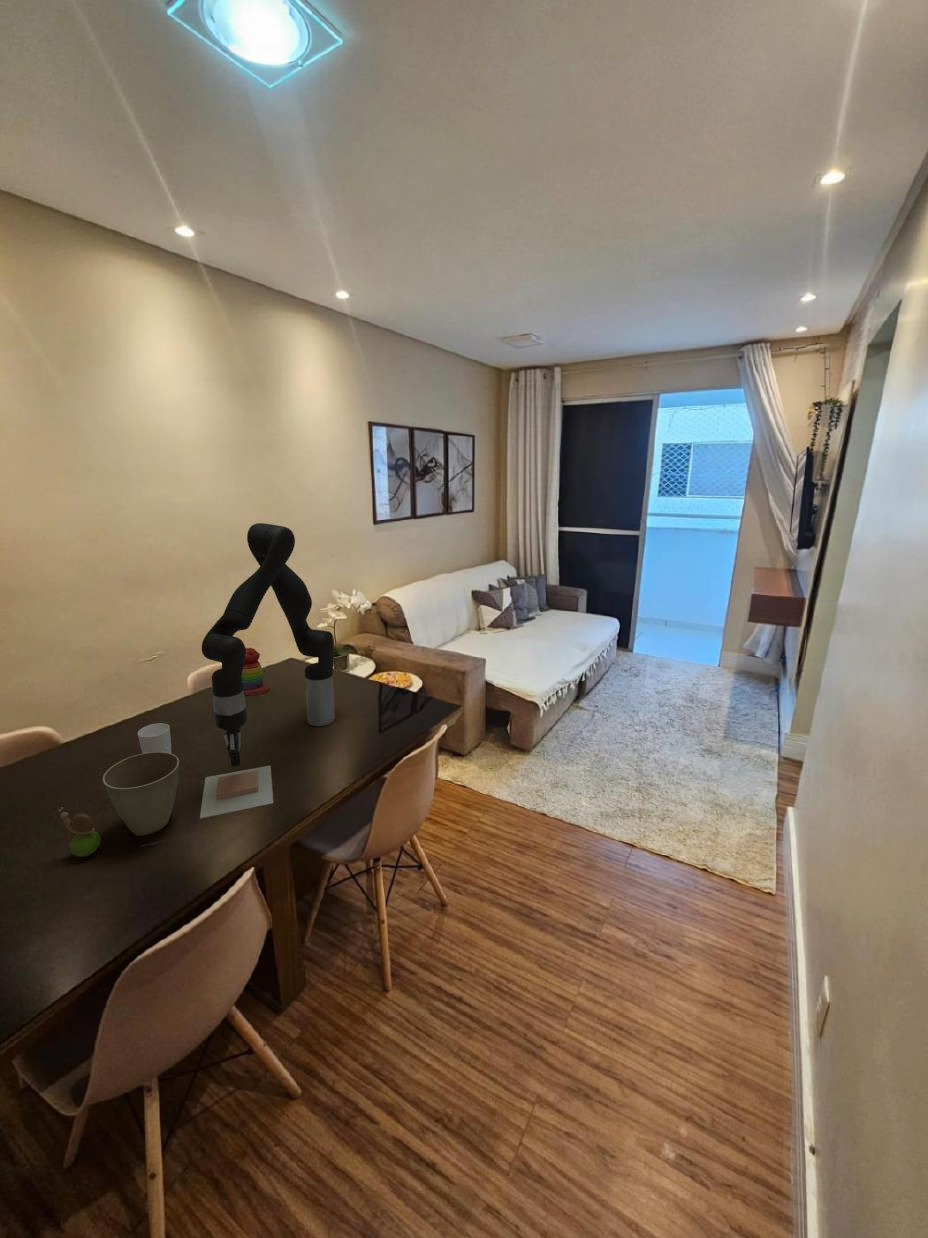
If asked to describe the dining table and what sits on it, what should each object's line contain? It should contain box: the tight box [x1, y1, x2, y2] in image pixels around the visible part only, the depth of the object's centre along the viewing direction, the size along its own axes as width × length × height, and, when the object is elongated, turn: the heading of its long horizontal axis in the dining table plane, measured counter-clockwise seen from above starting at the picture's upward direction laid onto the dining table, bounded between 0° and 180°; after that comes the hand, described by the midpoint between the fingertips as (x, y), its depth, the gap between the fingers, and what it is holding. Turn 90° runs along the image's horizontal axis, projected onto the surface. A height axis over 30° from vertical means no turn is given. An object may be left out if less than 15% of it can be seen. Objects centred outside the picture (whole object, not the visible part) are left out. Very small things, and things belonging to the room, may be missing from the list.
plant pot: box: [102, 752, 180, 837], centre depth 114 cm, size 15×15×16 cm
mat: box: [199, 765, 274, 819], centre depth 130 cm, size 18×17×1 cm
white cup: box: [137, 722, 172, 754], centre depth 141 cm, size 8×8×10 cm
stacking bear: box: [242, 647, 270, 696], centre depth 187 cm, size 11×10×18 cm
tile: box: [216, 771, 258, 800], centre depth 130 cm, size 2×10×8 cm
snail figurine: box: [58, 806, 102, 858], centre depth 106 cm, size 5×6×12 cm
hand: (236, 764), depth 131 cm, fingers closed
